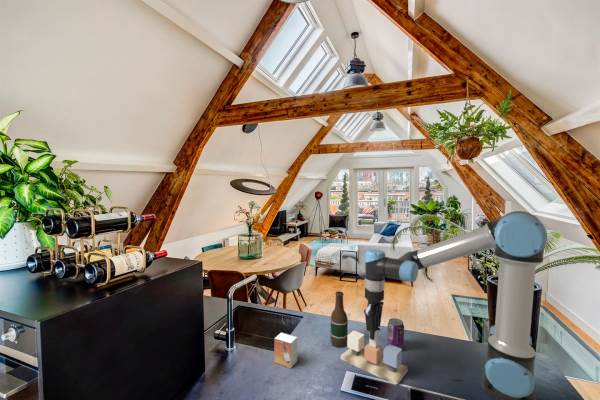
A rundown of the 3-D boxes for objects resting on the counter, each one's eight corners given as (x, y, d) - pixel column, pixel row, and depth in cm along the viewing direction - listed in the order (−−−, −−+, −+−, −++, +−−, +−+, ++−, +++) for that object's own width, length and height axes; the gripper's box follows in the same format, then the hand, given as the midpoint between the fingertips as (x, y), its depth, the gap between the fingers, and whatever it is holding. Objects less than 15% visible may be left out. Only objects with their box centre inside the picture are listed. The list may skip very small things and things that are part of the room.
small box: (273, 363, 116) (273, 338, 115) (281, 355, 121) (281, 331, 120) (290, 369, 112) (290, 343, 112) (297, 361, 117) (297, 336, 117)
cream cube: (364, 346, 120) (364, 334, 120) (358, 351, 116) (358, 339, 116) (353, 342, 124) (353, 330, 123) (347, 347, 120) (347, 335, 120)
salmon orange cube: (382, 358, 115) (382, 346, 115) (376, 364, 111) (376, 351, 111) (370, 353, 119) (370, 341, 118) (364, 359, 115) (364, 346, 114)
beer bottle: (328, 346, 128) (329, 294, 127) (332, 337, 135) (332, 288, 134) (346, 349, 126) (346, 296, 124) (348, 340, 133) (349, 290, 132)
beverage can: (405, 352, 123) (405, 326, 123) (388, 350, 125) (388, 324, 124) (402, 344, 130) (403, 318, 130) (386, 342, 132) (387, 317, 131)
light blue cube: (401, 361, 110) (402, 348, 110) (396, 368, 106) (396, 355, 106) (388, 356, 113) (389, 343, 113) (383, 362, 109) (383, 349, 109)
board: (407, 370, 112) (408, 357, 111) (396, 385, 103) (397, 371, 103) (353, 347, 127) (354, 335, 127) (340, 359, 119) (340, 346, 118)
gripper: (373, 282, 121) (372, 336, 122) (358, 291, 111) (357, 349, 112) (390, 286, 116) (388, 342, 117) (375, 296, 106) (374, 357, 107)
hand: (373, 345), depth 115 cm, fingers closed
